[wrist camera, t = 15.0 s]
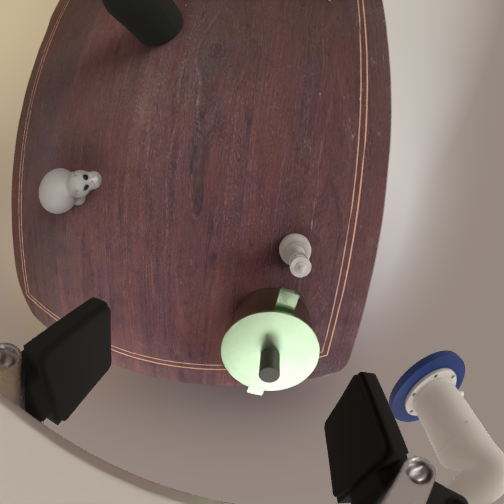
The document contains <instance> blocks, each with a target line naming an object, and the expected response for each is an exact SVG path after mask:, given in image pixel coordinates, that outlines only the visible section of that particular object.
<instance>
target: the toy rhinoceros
mask: <svg viewBox="0 0 504 504" xmlns="http://www.w3.org/2000/svg"><path fill="white" fill-rule="evenodd" d="M101 180H102V179H101V175H100V174H99V173H98V172H96V171H91V172H86V171H83V170H77V171H75V172H71V171H69V170H67V169H63V168H58V169H54V170H52V171H50V172H49V173H47V174H46V175H45V177H44V178H43V180H42V181H41V184H40V187H39V199H40V202H41V204H42V206H43V207H44V208H45V209H46V210H47V211H49V212H51V213H54V214H60V213H64V212H66V211H68V210H69V209H71V208H72V207H73V205H82V204H83V203H84V202H85V200H86V195H87V194H88V193H89V191H90V190H92V189H96V188H98V187H99V186H100V184H101Z"/></svg>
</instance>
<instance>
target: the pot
mask: <svg viewBox="0 0 504 504" xmlns="http://www.w3.org/2000/svg"><path fill="white" fill-rule="evenodd" d="M299 296H300V295H299V292H297V291H293V290H289V289H285V288H281V287H280V289H278V288H266V289H261V290H257V291H255V292H253V293H251V294H249V295H248V296H247V297H245V298H244V299H243V300H242V301H241V303H240V304H239V306H238V307H237V308H236V312H235V315H234V318H233V321H232V324H233V323H234V322H236V321H237V320H238V319H240V318H242V317H244V316H246V315H248V314H250V313H254V312H257V311H264V310H277V311H283V312H287V313H290V314H293V315H295V316H297V317H299V318H301V319H302V320H304V321H305V322H306V323H307V324H308V325H309V326H310V327H311V328H312V326H311V322H310V318H309V314H308V312H307V310H306V307H305V306H304V304H303V303H302V301H301V300H300V299H299ZM232 324H231V325H232ZM246 392H247V393H252V394H256V395H261V396H262V395H263V392H264V390H258V389H254V388H251V387H248V386H247V390H246Z"/></svg>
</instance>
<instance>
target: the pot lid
mask: <svg viewBox="0 0 504 504" xmlns="http://www.w3.org/2000/svg"><path fill="white" fill-rule="evenodd" d="M319 354H320V348H319V342H318V339H317V336H316V334H315V332H314V331H313V329H312V328H311V327H310V326H309V325H308V324H307V323H306V322H305V321H304V320H302V319H301V318H299V317H297V316H295V315H293V314H290V313H287V312H283V311H277V310H264V311H257V312H254V313H250V314H248V315H246V316H244V317H242V318H240V319H238V320H237V321H236V322H234V323H233V324H232V325H231V326H230V328H229V329H228V330H227V332H226V333H225V335H224V338H223V341H222V344H221V357H222V361H223V364H224V366H225V367H226V369H227V371H228V372H229V373H230V374H231V375H232V376H233V377H234V378H235V379H236V380H237V381H239V382H240V383H242V384H244V385H246V386H248V387H251V388H254V389H258V390H266V391H275V390H282V389H286V388H289V387H292V386H294V385H297V384H298V383H300V382H302V381H303V380H304V379H306V378H307V377H308V376H309V375H310V374H311V373H312V371H313V370H314V368H315V367H316V365H317V362H318V359H319Z"/></svg>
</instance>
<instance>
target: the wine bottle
mask: <svg viewBox="0 0 504 504" xmlns="http://www.w3.org/2000/svg"><path fill="white" fill-rule="evenodd" d="M102 2H103V4H104V6H105V8H106V9H107V11H108V12H109V13H110V14H111V15H112V16H113V17H114V18H115V19H117V20H118V21H119V22H120V23H121V24H122V25H123V26H124V27H126V28H127V29H128V30H129V31H130V32H131V33H132V34H133V35H134V36H135V37H136V38H137V39H139V40H140V41H141V42H142V43H143V44H146V45H149V46H151V45H159V44H163V43H165V42H167V41H169V40H171V39H172V38H173V37H174V36H176V35H177V34H178V33H179V31H180V29H181V28H182V25H183V18H182V15H181V13H180V11H179V9H178V8H177V6H176V5H175V3H174V1H173V0H102Z"/></svg>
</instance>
